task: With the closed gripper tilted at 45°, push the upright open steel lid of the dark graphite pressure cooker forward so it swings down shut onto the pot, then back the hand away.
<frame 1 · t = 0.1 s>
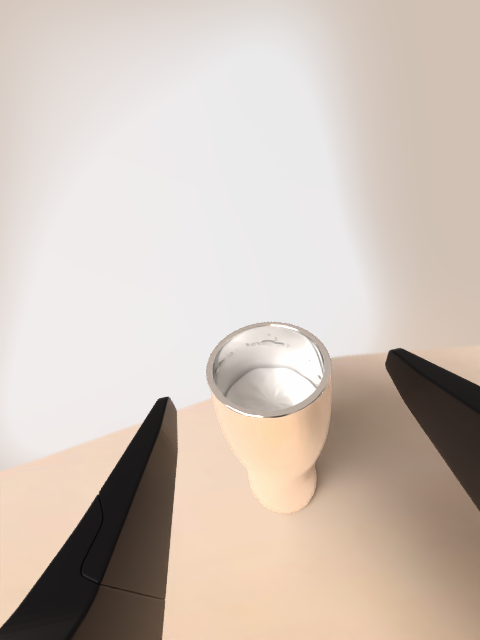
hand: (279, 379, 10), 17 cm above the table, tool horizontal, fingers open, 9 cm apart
beer glass: (281, 473, 22), on the table
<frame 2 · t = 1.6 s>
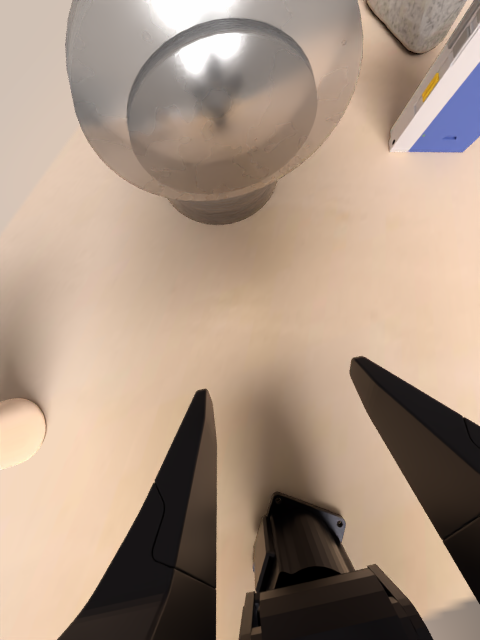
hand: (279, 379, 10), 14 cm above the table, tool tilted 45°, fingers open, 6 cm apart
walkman: (423, 143, 26), on the table
cooker pot: (219, 169, 26), on the table
beer glass: (17, 430, 23), on the table
cooker lid: (222, 128, 13), point 12 cm above the table, hinge at 98.0°
decorative stone: (401, 25, 29), on the table
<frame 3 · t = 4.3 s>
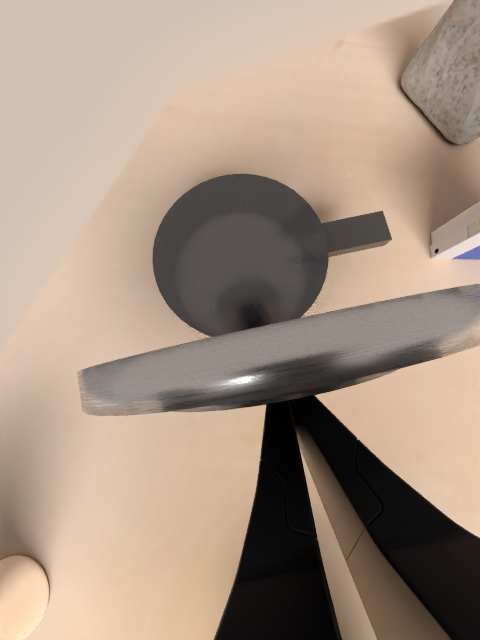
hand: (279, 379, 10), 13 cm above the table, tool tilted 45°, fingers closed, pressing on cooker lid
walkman: (468, 247, 24), on the table
cooker pot: (241, 278, 24), on the table
beer glass: (16, 592, 20), on the table
cooker lid: (272, 353, 10), point 12 cm above the table, hinge at 92.3°, touching gripper
decorative stone: (438, 109, 26), on the table
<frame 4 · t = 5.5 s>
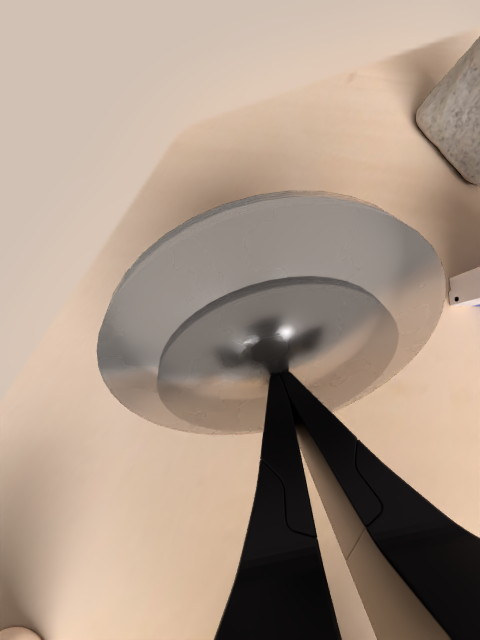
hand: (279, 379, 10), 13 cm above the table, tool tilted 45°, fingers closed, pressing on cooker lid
cooker lid: (274, 366, 10), point 12 cm above the table, hinge at 54.0°, touching gripper
decorative stone: (454, 146, 25), on the table
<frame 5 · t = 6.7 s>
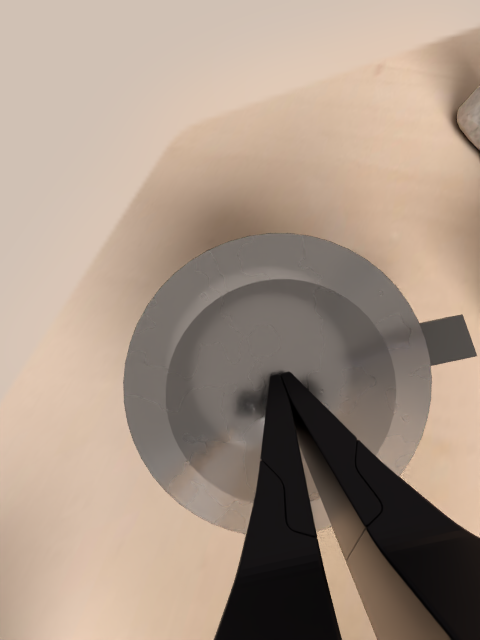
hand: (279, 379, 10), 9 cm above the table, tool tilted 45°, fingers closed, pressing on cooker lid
cooker pot: (263, 370, 19), on the table
cooker lid: (278, 388, 11), point 8 cm above the table, hinge at 11.7°, touching gripper
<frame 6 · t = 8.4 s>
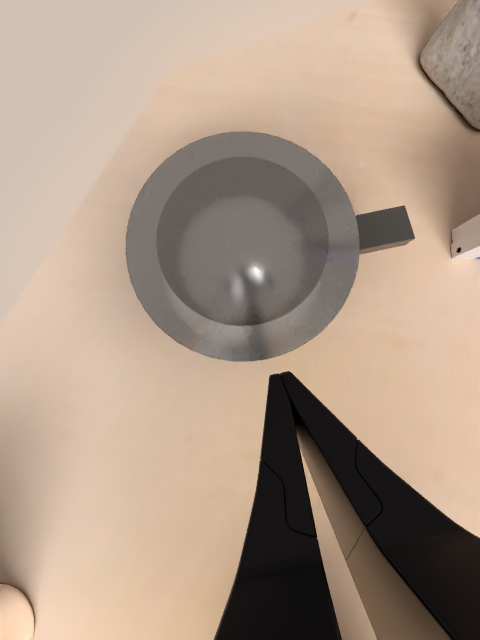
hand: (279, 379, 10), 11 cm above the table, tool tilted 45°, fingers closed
cooker pot: (242, 280, 21), on the table
cooker lid: (242, 245, 14), point 7 cm above the table, hinge at 4.4°
decorative stone: (460, 91, 24), on the table
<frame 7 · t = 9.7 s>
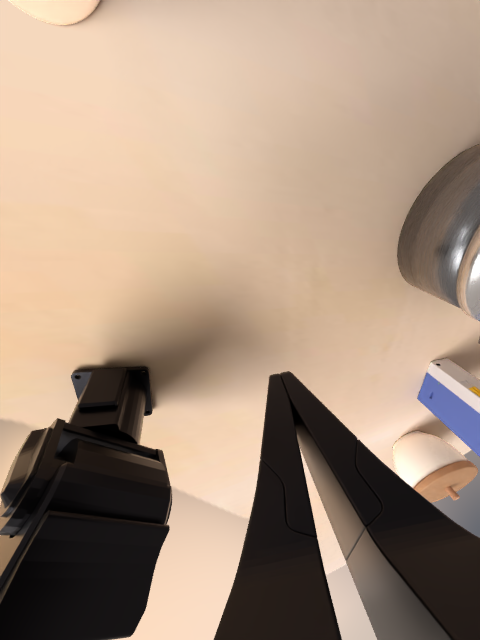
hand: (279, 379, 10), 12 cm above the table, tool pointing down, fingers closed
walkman: (429, 378, 35), on the table
cooker pot: (460, 225, 23), on the table
lidded jar: (406, 440, 44), on the table
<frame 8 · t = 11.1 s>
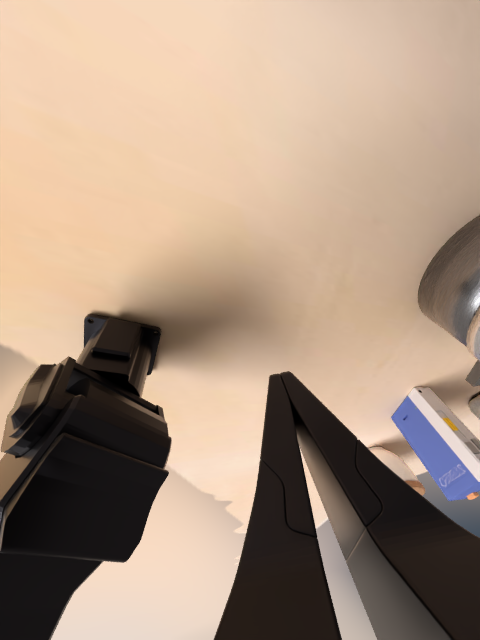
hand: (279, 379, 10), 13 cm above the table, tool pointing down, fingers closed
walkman: (407, 401, 38), on the table
lidded jar: (368, 453, 48), on the table
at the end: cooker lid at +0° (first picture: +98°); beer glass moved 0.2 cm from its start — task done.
